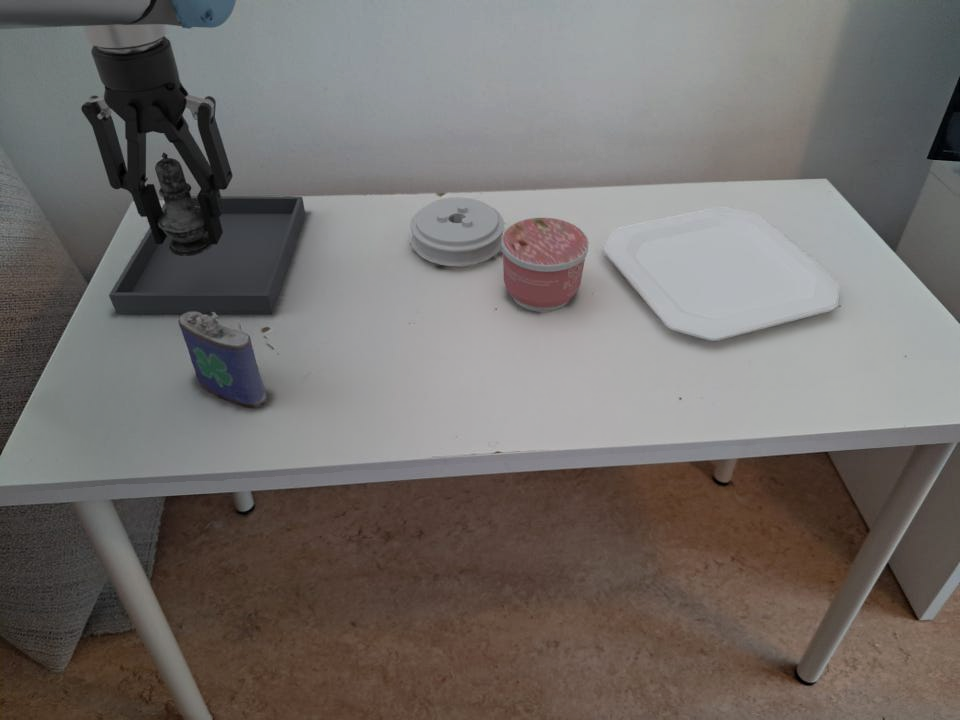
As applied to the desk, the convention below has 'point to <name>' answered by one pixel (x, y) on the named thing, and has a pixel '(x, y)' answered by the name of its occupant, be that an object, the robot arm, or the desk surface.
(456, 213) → the grey pulley wheel
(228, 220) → the tray
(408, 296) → the desk surface
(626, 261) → the plate
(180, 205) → the chess piece
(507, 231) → the container
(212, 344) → the flask
